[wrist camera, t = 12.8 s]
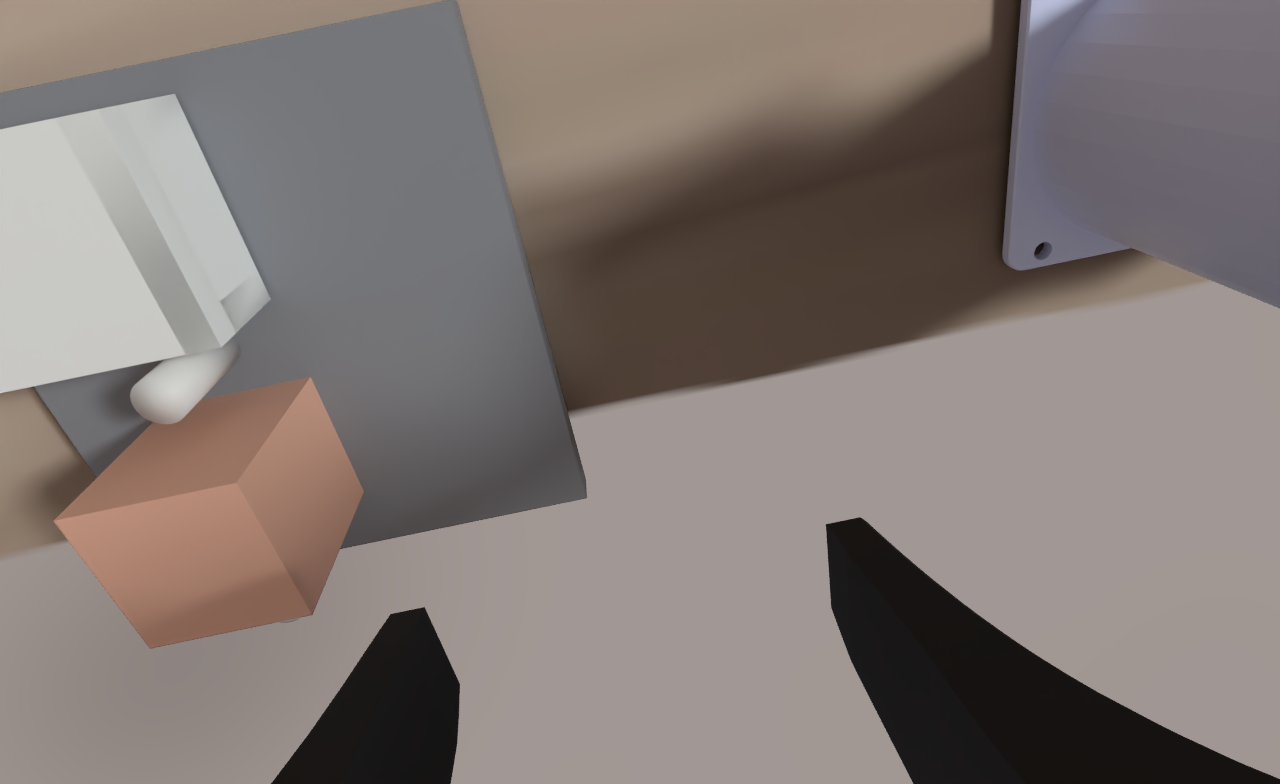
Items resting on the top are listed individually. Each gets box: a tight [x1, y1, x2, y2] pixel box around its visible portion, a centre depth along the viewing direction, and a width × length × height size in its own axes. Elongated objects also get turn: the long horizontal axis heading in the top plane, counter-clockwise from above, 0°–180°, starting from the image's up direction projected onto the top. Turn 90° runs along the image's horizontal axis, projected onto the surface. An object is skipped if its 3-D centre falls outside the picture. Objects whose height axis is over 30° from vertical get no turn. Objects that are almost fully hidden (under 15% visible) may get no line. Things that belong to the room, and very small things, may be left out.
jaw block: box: [54, 377, 364, 648], centre depth 18 cm, size 4×4×5 cm
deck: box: [0, 0, 587, 623], centre depth 18 cm, size 14×14×4 cm
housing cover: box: [0, 94, 271, 393], centre depth 16 cm, size 6×5×3 cm
